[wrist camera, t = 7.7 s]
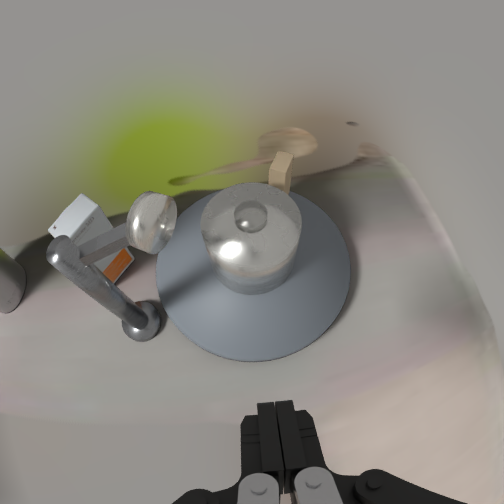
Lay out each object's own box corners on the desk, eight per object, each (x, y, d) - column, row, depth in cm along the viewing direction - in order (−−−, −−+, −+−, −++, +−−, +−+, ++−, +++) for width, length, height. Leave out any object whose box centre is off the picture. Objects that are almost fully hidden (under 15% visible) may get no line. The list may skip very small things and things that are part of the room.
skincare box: (109, 292, 35) (61, 247, 24) (92, 276, 36) (45, 229, 25) (137, 258, 37) (99, 204, 27) (118, 244, 38) (80, 191, 28)
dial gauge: (118, 331, 32) (23, 264, 16) (153, 264, 36) (92, 166, 21) (173, 359, 30) (90, 310, 14) (207, 285, 35) (168, 183, 19)
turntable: (128, 314, 33) (95, 287, 25) (209, 176, 44) (201, 133, 36) (315, 390, 28) (336, 386, 20) (360, 220, 39) (379, 179, 31)
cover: (198, 279, 33) (181, 242, 26) (229, 214, 38) (222, 168, 30) (280, 306, 31) (287, 273, 24) (302, 234, 36) (312, 189, 29)
